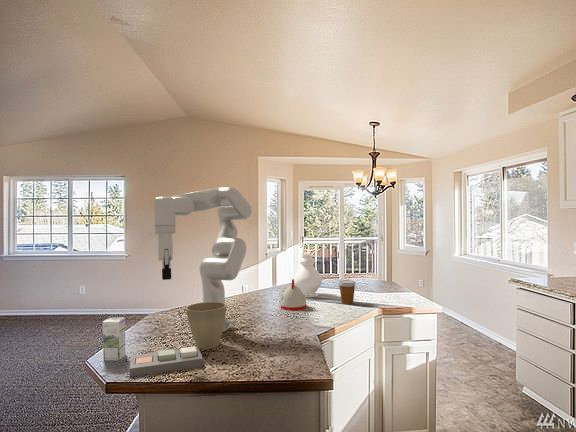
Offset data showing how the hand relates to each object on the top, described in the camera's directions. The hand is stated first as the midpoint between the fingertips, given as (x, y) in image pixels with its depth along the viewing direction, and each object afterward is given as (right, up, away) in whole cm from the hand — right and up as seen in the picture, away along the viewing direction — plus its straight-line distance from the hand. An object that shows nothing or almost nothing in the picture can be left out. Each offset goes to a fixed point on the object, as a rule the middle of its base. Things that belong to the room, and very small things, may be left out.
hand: (166, 279), depth 143 cm
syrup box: (-15, -27, -9) cm, 33 cm away
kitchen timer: (+48, -26, +64) cm, 84 cm away
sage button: (+5, -24, -16) cm, 29 cm away
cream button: (+12, -24, -14) cm, 30 cm away
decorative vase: (+58, -26, +95) cm, 114 cm away
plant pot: (+15, -27, +2) cm, 30 cm away
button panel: (+5, -27, -16) cm, 32 cm away
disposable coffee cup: (+78, -25, +72) cm, 109 cm away
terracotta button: (-2, -26, -19) cm, 32 cm away
